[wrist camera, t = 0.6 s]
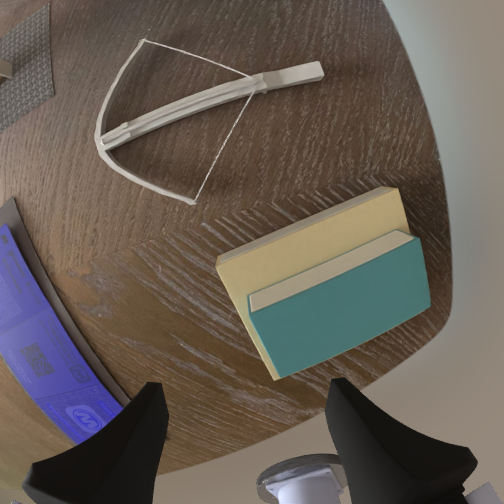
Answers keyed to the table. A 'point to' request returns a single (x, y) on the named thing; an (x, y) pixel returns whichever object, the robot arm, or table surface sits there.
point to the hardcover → (307, 248)
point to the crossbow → (188, 109)
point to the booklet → (49, 342)
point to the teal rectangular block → (341, 302)
